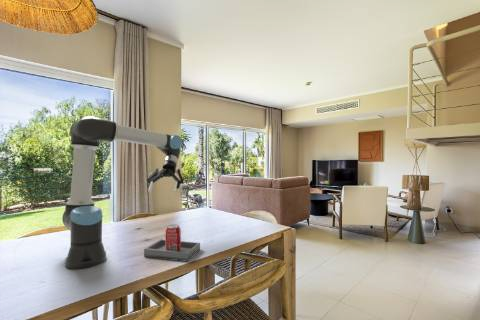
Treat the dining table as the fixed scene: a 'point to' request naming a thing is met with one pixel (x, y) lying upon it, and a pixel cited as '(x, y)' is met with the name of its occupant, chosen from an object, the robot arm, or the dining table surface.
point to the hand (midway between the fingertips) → (162, 192)
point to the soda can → (173, 238)
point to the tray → (183, 254)
